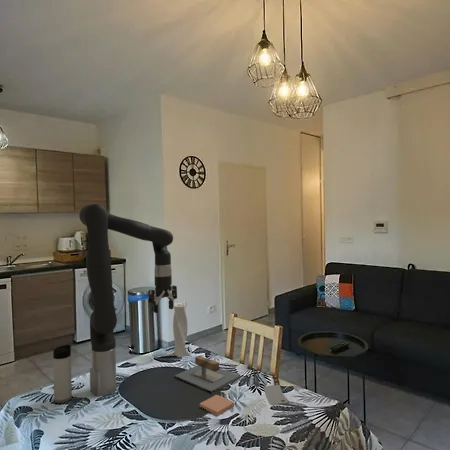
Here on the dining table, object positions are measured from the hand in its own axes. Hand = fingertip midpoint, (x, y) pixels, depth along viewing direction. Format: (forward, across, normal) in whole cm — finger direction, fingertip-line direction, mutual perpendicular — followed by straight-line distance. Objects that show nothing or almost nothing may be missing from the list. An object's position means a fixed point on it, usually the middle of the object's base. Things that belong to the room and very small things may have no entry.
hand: (163, 310), depth 162 cm
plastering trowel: (+27, -9, +19) cm, 34 cm away
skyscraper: (+29, -20, -11) cm, 37 cm away
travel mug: (+28, +40, -12) cm, 50 cm away
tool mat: (+28, -9, +18) cm, 35 cm away
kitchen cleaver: (+29, -18, +46) cm, 57 cm away
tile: (+28, +6, +33) cm, 43 cm away
